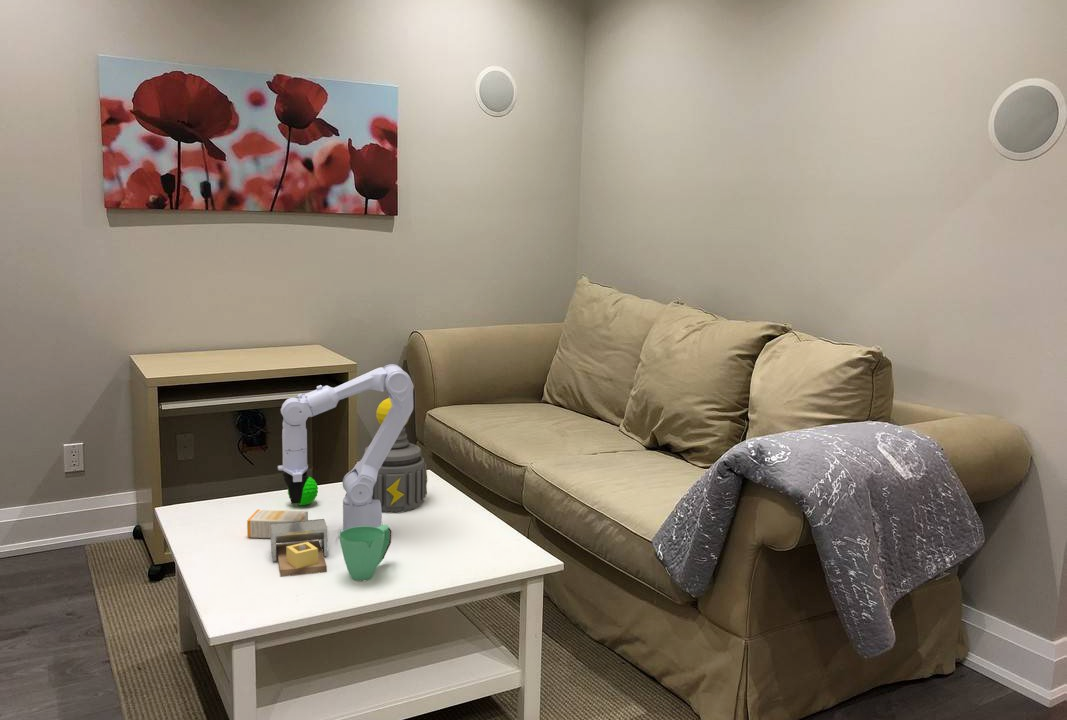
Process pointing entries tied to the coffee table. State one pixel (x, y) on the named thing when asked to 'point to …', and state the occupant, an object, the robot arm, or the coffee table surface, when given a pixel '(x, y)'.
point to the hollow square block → (302, 555)
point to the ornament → (308, 492)
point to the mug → (364, 549)
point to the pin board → (290, 570)
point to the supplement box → (271, 521)
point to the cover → (299, 533)
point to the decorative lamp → (400, 472)
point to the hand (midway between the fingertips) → (295, 502)
